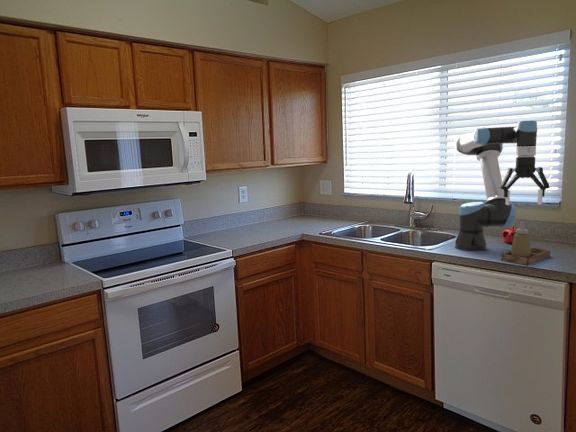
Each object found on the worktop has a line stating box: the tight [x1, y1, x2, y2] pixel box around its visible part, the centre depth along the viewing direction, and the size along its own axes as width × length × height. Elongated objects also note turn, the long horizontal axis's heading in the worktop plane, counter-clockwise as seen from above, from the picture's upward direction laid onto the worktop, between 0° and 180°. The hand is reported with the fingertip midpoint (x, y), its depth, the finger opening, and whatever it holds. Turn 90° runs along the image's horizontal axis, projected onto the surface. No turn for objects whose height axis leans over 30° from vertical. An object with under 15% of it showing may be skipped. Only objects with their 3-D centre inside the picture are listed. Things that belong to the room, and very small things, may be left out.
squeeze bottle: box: [510, 221, 531, 258], centre depth 200 cm, size 8×8×18 cm
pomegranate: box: [501, 225, 519, 244], centre depth 237 cm, size 10×10×9 cm
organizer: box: [500, 246, 551, 266], centre depth 204 cm, size 12×22×3 cm, turn 128°
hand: (523, 204), depth 197 cm, fingers open, 13 cm apart
